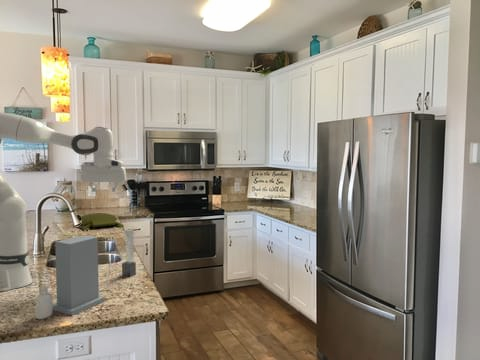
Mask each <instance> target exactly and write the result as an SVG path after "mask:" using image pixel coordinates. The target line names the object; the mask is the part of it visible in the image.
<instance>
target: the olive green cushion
mask: <svg viewBox="0 0 480 360" xmlns="http://www.w3.org/2000/svg"><path fill="white" fill-rule="evenodd" d="M80 217H81V219H82V224H81V225H80V226H79V227H78V228H79V229H80V228H82V229H83V230H82V229H81V230H82V231H84V230H90V231H91V228H99V227H108V226H109V227H111V226H114V225H115V226H114V227H117V228H123V227H124V226H125V225H124V224H123V223H120V222H118V221H117V220H118V217H117V216H116V215H114V214H111V213H105V212H95V213H88V214H85V215H81V216H80ZM85 224H86V225H85ZM90 227H91V228H90Z"/></svg>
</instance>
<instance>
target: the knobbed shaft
mask: <svg viewBox="0 0 480 360" xmlns="http://www.w3.org/2000/svg"><path fill="white" fill-rule="evenodd" d="M134 243H135V241H134V229H125V255H126V256H125V261H124V262H122V263H121V275H122V276H124V277H129V278H131V277H133V276H136V273H137V268H136V267H137V266H136V265H137V263H136V262H135V261H134V260H135V259H134V258H135V257H134V256H135V255H134V254H135V252H134V249H135V247H134Z"/></svg>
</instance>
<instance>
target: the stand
mask: <svg viewBox="0 0 480 360" xmlns="http://www.w3.org/2000/svg"><path fill="white" fill-rule="evenodd" d="M98 239H99V237H98V236H91V235H78V236H75V237H70V238H69V237H68V238H66V239H61V240H56V241H55V243H54V244H55V280H56V286H55V287H56V302H54V303H52V305H53V312H57V313H58V312H59V313H62V314H65V315H69V316H74V315H77V314H78V313H81V312H83V311H86V310H88V309H90V308H93V307H96V306H98V305H99V304H102V303H104V302H106V297H105V296H103V295H100V293H99V291H100V290H99V289H100V288H99V240H98Z"/></svg>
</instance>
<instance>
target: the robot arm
mask: <svg viewBox="0 0 480 360" xmlns="http://www.w3.org/2000/svg"><path fill="white" fill-rule="evenodd" d="M2 139H7V140H8V139H9V140H12V141H13V140H14V141H16V142H22V143H30V144H51V145H52V144H53V145H57V146H61V147H64V148H69V149H70V150H71V149H72V150H73V152H74V153H76V154H77V155H81V156H89V155H93V161H85V162H83V163H81V164H80V170H81V173H80V180H81V182H83V183H88V185H89V187H90V188H91V192H92V193H93V192H94V193H96V192H97V187H95V186H94V183H114V187H112V193H116V192H117V188H118V186H119V184H120V183H125V182H126V181H127V170H126V168H125V166H124V165H125V162H124V161H123V160H120V159H117V158H114V155H115V154H114V152H113V151H114V135H113V131H112V130H111V129H109V128H108V127H107V128H106V127H102V126H95V127H94V128H92V129H89V131H85V132H83V133H79V134H77V135H75V134H71V133H67V132H63V131H59V130H56V129H53V128H51V127H48V126H47V125H45V124H44V123H43V122H40V121H39V120H36V119H33V118H31V117H27V116H25V115H20V114H15V113H8V112H0V144H1V143H2ZM27 210H28V206H27V203H26V201H25V200H24V199H23V198H22V197H21V195H20V194H19V193H18V192H17V190H16V189H15V188H14V187H13V186H12V184H10V183H9V181H8V180H7V179H6V177H5V176H4V175H3V173H2V172H1V171H0V292H6V291H11V290H14V289H19V288H23V287H25V286H29V285H30V284H32V283H33V278H32V276H31V272H30V268H29V267H30V265H29V264H30V253H29V251H28V231H27V217H26V215H27Z"/></svg>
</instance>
